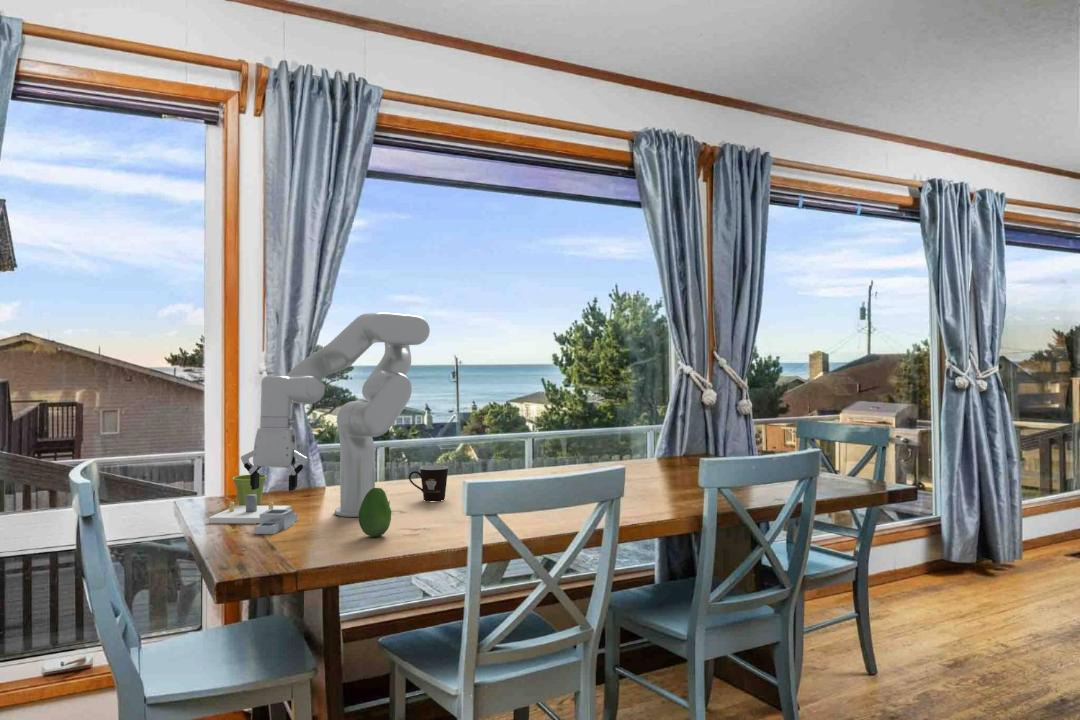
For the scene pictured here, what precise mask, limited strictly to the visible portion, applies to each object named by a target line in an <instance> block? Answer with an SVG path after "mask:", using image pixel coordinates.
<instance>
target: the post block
mask: <svg viewBox="0 0 1080 720" xmlns="http://www.w3.org/2000/svg"><path fill="white" fill-rule="evenodd" d="M228 504H229V507H228V508H227V509H225V510H223V511H221V512H218V513H216V514H214V515H211V516H209V517H208V524H256V523H260V514H261V513H263V512H265V511H267V510H269V509H292V506H291V505H274V502H273V501H271V502H268V505H259V506H257V495H256V494H249V495H246V506H244V505H239V504H238V505H235V502H234V501H230V502H229V503H228Z"/></svg>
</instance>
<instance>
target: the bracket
mask: <svg viewBox="0 0 1080 720" xmlns="http://www.w3.org/2000/svg"><path fill="white" fill-rule="evenodd" d="M294 510H295V509H294V508H293V509H292V508H291V509H269V510H267V511H265V512H263V513H261V514H260V524H257V525H255V526H254V535H255V534H274V535H276V534H278V533H280V532H281V531H285V530H288V529H289V528H290V527H292V526H293V524H295V523H296V522H297V521H298V512H295V511H294ZM295 521H296V522H295ZM291 525H292V526H291ZM288 527H289V528H288ZM280 530H281V531H280ZM275 533H276V534H275Z"/></svg>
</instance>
